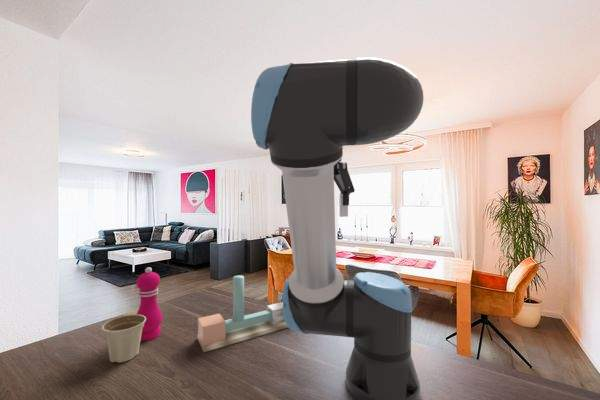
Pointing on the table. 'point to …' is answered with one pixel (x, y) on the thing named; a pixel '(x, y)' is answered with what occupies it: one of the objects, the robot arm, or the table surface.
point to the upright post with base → (238, 309)
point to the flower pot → (123, 337)
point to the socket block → (211, 329)
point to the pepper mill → (149, 304)
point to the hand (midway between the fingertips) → (329, 215)
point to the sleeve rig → (252, 329)
